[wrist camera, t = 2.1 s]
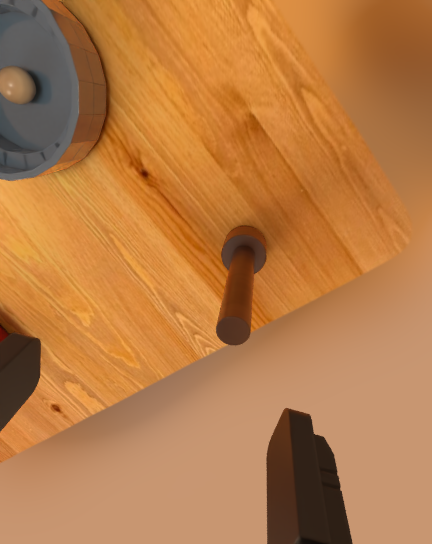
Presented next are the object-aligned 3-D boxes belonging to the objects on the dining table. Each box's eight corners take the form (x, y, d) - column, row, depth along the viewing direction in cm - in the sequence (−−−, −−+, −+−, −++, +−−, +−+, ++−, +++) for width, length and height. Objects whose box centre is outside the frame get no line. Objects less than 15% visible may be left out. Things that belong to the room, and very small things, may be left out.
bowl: (80, -34, 28) (36, -70, 23) (128, 158, 34) (102, 166, 29) (-73, 8, 31) (-146, -15, 25) (-5, 179, 37) (-51, 190, 31)
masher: (263, 223, 35) (264, 298, 20) (268, 262, 37) (271, 357, 22) (221, 228, 36) (193, 304, 21) (227, 266, 37) (205, 360, 23)
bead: (35, 65, 31) (13, 59, 28) (47, 101, 32) (27, 100, 29) (6, 71, 31) (-18, 67, 29) (19, 107, 32) (-3, 106, 30)
